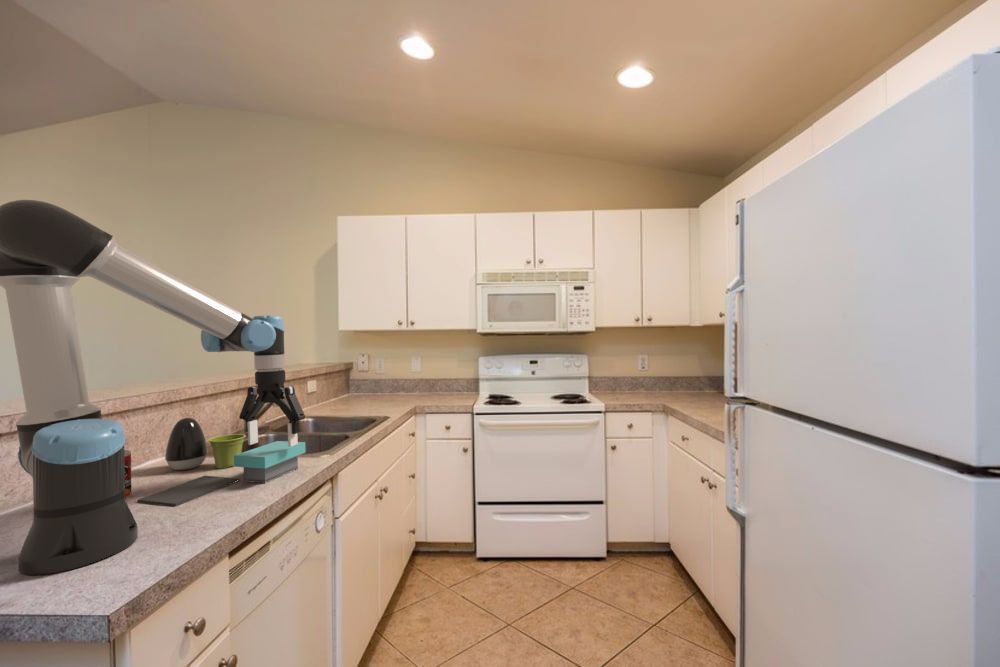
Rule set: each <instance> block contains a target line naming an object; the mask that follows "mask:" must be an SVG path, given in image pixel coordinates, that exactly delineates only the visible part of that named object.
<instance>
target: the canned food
mask: <svg viewBox="0 0 1000 667" xmlns="http://www.w3.org/2000/svg"><path fill="white" fill-rule="evenodd" d="M124 463H125V499H126V497H127V498H128V497H129V496H130V495H131V494H132V493H131V492H132V454H131V450H128V449H124Z"/></svg>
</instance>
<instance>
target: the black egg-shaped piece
mask: <svg viewBox="0 0 1000 667" xmlns="http://www.w3.org/2000/svg"><path fill="white" fill-rule="evenodd" d="M208 452H209V451H208V445H207V440H206V436H205V434H204V431H203V429H202V427H201V425H200V424H199V422H198V421H197V420H196V419H195V418H192V417H185V418H182V419H179V420H178V421H177V422H176V423H175V424H174V426H173V427H172V429H171V432H170V435H169V438H168V440H167V445H166V449H165V455H164V456H165V457H164V459H165V461H166V462H167V465H168V466H169V468H170V469H172V470H174V471H186V469H188V470H192V469H191V468H193V469H195V467H196V468H197V467H199V466H201V465H202V464H203V463H204V461H205V459H206V457H207V455H208Z"/></svg>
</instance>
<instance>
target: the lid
mask: <svg viewBox="0 0 1000 667" xmlns="http://www.w3.org/2000/svg"><path fill="white" fill-rule="evenodd" d="M305 453H306V442H305V441H298V444H296V445H294V446H291V447H288V440H287V441H286V440H285V441H282V440H276V441H274V442H270V443H267V444H263V445H261V446H258V447H256V448H252V449H249V450H247V451H244V452H243V451H242V452H241V453H240V454H237V455H234V466H233V467H235V468H237V467H239V468H244V467H249V468H264V469H265V468H268V467H270V466H273V465H275V464H278V463H280V462H283V461H285V460H288V459H290V458H293V457H295V456H298V457H299V456H300V455H302V454H305Z"/></svg>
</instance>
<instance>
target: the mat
mask: <svg viewBox="0 0 1000 667" xmlns="http://www.w3.org/2000/svg"><path fill="white" fill-rule="evenodd" d="M237 480H239V481H240V478H239V477H229V476H228V477H225V476H214V475H213V476H212V475H203V476H201V477H197V478H195V479H192V480H188V481H186V482H183V483H179V484H178V485H175V486H172V487H169V488H167V489H163V490H161V491H158V492H155V493H152V494H149V495H147V496H144V497H141V498H138V499H136V501H137V503H139V502H141V503H142V504H149V503H150V504H149V505H159V504H161V506H168V507H169V506H170V507H177V506H180V505H182V504H185V503H188V502H190V501H193V500H194V499H198V498H201V497H202V496H206V495H207V494H210V493H213V492H215V491H217V490H220V489H222V488H224V487H223V486H225V485H227V486H229V485H228V484H230V483H232V484H234V483H233V482H235V481H237ZM237 482H238V481H237ZM235 483H236V482H235ZM230 485H231V484H230ZM221 487H222V488H221ZM225 487H226V486H225ZM219 488H220V489H219ZM214 490H215V491H214Z"/></svg>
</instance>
